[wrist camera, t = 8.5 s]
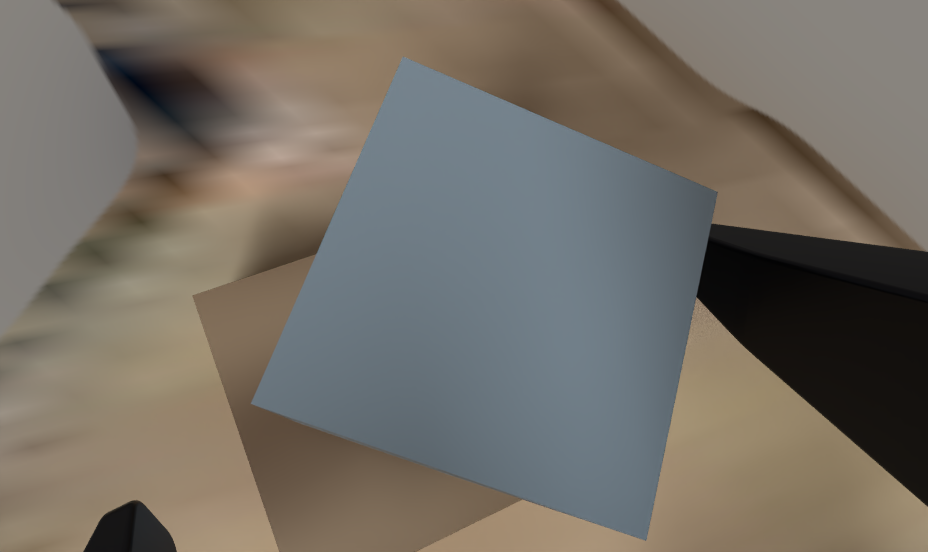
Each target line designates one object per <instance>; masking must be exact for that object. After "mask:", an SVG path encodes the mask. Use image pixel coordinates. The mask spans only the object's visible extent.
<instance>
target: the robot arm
mask: <svg viewBox="0 0 928 552" xmlns="http://www.w3.org/2000/svg"><path fill="white" fill-rule="evenodd" d="M696 297H697V298H698V299H699V300H700V301H701V302H702V303H703V304H704V305H705V306H706V308H707V309H708V310H709V311H710V312H711V313H712V314H713V315H714V316H715V317H716V318H717V319H718V320H719V321H720V322H721V323H722V325H723V326H724V327H725V328H726V329H727V330H728V331H729V332H730V333H731V334H732V335H733V336H734V337H735V338H736V339H737V340H738V341H739V342H740V343H741V344H742V345H743V346H744V347H745V348H746V349H747V350H748V351H749V352H751V353H752V354H753V355H754V356H755V357H756V358H757V359H758V360H760V361H761V362H762V363H763V364H764V365H765V366H767V367H768V368H769V369H770V370H771V371H772V372H773V373H775V374H776V375H777V376H778V377H779V378H780V379H781V380H783V381H784V382H785V383H786V384H787V385H788V386H790V387H791V388H792V389H793V390H794V391H795V392H796V393H798V394H799V395H800V396H801V397H802V398H803V399H804V400H806V401H807V402H808V403H809V404H810V405H811V406H813V407H814V408H815V409H816V410H817V411H818V412H819V413H821V414H822V415H823V416H824V417H825V418H826V419H827V420H829V421H830V422H831V423H832V424H833V425H834V426H836V427H837V428H838V429H839V430H840V431H841V432H842V433H844V434H845V435H846V436H847V437H848V438H849V439H850V440H852V441H853V442H854V443H855V444H856V445H857V446H859V447H860V448H861V449H862V450H863V451H864V452H865V453H867V454H868V455H869V456H870V457H871V458H872V459H874V460H875V461H876V462H877V463H878V464H879V465H880V466H882V467H883V468H884V469H885V470H886V471H887V472H888V473H890V474H891V475H892V476H893V477H894V478H895V479H897V480H898V481H899V482H900V483H901V484H902V485H903V486H905V487H906V488H907V489H908V490H909V491H910V492H911V493H913V494H914V495H915V496H916V497H917V498H918V499H920V500H921V501H922V502H923V503H924V504H925V505H926V506H928V252H925V251H917V250H909V249H902V248H894V247H886V246H879V245H871V244H863V243H856V242H848V241H840V240H833V239H825V238H817V237H810V236H802V235H794V234H787V233H779V232H771V231H764V230H756V229H749V228H741V227H733V226H726V225H718V224H711V227H710V232H709V237H708V242H707V247H706V252H705V256H704V261H703V266H702V271H701V276H700V281H699V286H698V291H697V295H696ZM83 552H177V551H176V547H175V544H174V541H173V539H172V537H171V535H170V533H169V532H168V531H167V529H166V528H165V527H164V526H163V525H162V524H161V523H160V522H159V520H158V519H157V518H156V517H155V516H154V515H153V514H152V513H151V512H150V510H149V509H148V508H147V507H146V506H145V505H144V504H143V503H142V502H140V501H138V500H134V501H130V502H128V503H126V504H124V505H122V506H120V507H118V508H116V509H114V510H112V511H110V512H108V513H106V514H105V515H104V516H103V517H102V518H101V520H100V521H99V523H98V525H97V527H96V529H95V531H94V533H93V534H92V536H91V538H90V540H89V542H88V544H87V546H86V548H85V550H84V551H83Z"/></svg>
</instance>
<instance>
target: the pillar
mask: <svg viewBox="0 0 928 552" xmlns="http://www.w3.org/2000/svg"><path fill="white" fill-rule="evenodd" d="M717 193H718V192H716V191H714V190H712V189H709V188H707V187H705V186H702V185H700V184H698V183H695V182H693V181H691V180H688V179H686V178H684V177H681V176H679V175H677V174H674V173H672V172H670V171H667V170H665V169H663V168H661V167H658V166H656V165H654V164H651V163H649V162H647V161H644V160H642V159H640V158H637V157H635V156H633V155H630V154H628V153H626V152H623V151H621V150H619V149H616V148H614V147H612V146H609V145H607V144H605V143H602V142H600V141H598V140H595V139H593V138H591V137H589V136H586V135H584V134H582V133H579V132H577V131H575V130H572V129H570V128H568V127H565V126H563V125H561V124H558V123H556V122H554V121H551V120H549V119H547V118H544V117H542V116H540V115H537V114H535V113H533V112H530V111H528V110H526V109H523V108H521V107H519V106H517V105H514V104H512V103H510V102H507V101H505V100H503V99H500V98H498V97H496V96H493V95H491V94H489V93H486V92H484V91H482V90H479V89H477V88H475V87H472V86H470V85H468V84H465V83H463V82H461V81H458V80H456V79H454V78H451V77H449V76H447V75H445V74H442V73H440V72H438V71H435V70H433V69H431V68H428V67H426V66H424V65H421V64H419V63H417V62H414V61H412V60H410V59H407V58H405V57H403V58H402V60H401V62H400V65H399V67H398V69H397V72H396V74H395V76H394V78H393V81H392V83H391V85H390V87H389V90H388V92H387V94H386V97H385V99H384V101H383V103H382V106H381V108H380V110H379V113H378V115H377V117H376V119H375V122H374V124H373V126H372V129H371V131H370V133H369V135H368V138H367V140H366V142H365V145H364V147H363V149H362V151H361V154H360V156H359V158H358V160H357V163H356V165H355V167H354V170H353V172H352V174H351V176H350V179H349V181H348V183H347V186H346V188H345V190H344V192H343V195H342V197H341V199H340V202H339V204H338V206H337V208H336V211H335V213H334V215H333V217H332V220H331V222H330V224H329V227H328V229H327V231H326V233H325V236H324V238H323V240H322V243H321V245H320V247H319V249H318V252H317V254H316V256H315V259H314V261H313V263H312V265H311V268H310V270H309V272H308V274H307V277H306V279H305V281H304V284H303V286H302V288H301V290H300V293H299V295H298V297H297V300H296V302H295V304H294V306H293V309H292V311H291V313H290V316H289V318H288V320H287V322H286V325H285V327H284V329H283V331H282V334H281V336H280V338H279V341H278V343H277V345H276V347H275V350H274V352H273V354H272V357H271V359H270V361H269V363H268V366H267V368H266V370H265V373H264V375H263V377H262V379H261V382H260V384H259V386H258V388H257V391H256V393H255V395H254V398H253V400H252V402H251V404H253V405H255V406H258V407H260V408H263V409H265V410H268V411H270V412H273V413H275V414H278V415H280V416H283V417H285V418H288V419H290V420H293V421H295V422H298V423H301V424H303V425H306V426H309V427H312V428H315V429H318V430H321V431H324V432H327V433H329V434H332V435H335V436H338V437H341V438H344V439H347V440H350V441H353V442H356V443H358V444H361V445H364V446H367V447H370V448H373V449H376V450H379V451H382V452H384V453H387V454H390V455H393V456H396V457H399V458H402V459H405V460H408V461H410V462H413V463H416V464H419V465H422V466H425V467H428V468H431V469H434V470H437V471H439V472H442V473H445V474H448V475H451V476H454V477H457V478H460V479H463V480H466V481H469V482H472V483H475V484H478V485H481V486H484V487H487V488H490V489H493V490H496V491H499V492H502V493H505V494H508V495H511V496H514V497H517V498H520V499H523V500H526V501H529V502H532V503H535V504H538V505H541V506H544V507H547V508H550V509H553V510H556V511H559V512H562V513H565V514H568V515H571V516H574V517H577V518H580V519H583V520H586V521H589V522H592V523H595V524H598V525H601V526H604V527H607V528H610V529H613V530H616V531H619V532H622V533H625V534H628V535H631V536H634V537H637V538H640V539H643V540H646V539H647V534H648V529H649V525H650V520H651V515H652V510H653V505H654V500H655V495H656V490H657V486H658V481H659V476H660V471H661V466H662V461H663V456H664V451H665V447H666V442H667V437H668V432H669V427H670V422H671V417H672V412H673V408H674V403H675V398H676V393H677V388H678V383H679V378H680V373H681V369H682V364H683V359H684V354H685V349H686V344H687V339H688V334H689V330H690V325H691V320H692V315H693V310H694V305H695V300H696V295H697V291H698V286H699V281H700V276H701V271H702V266H703V261H704V256H705V252H706V247H707V242H708V237H709V232H710V227H711V222H712V217H713V213H714V208H715V203H716V198H717Z"/></svg>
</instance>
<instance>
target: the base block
mask: <svg viewBox="0 0 928 552" xmlns="http://www.w3.org/2000/svg"><path fill="white" fill-rule="evenodd" d="M315 256H316V254H315V255H312V256H309V257H306V258H303V259H300V260H297V261H294V262H291V263H288V264H285V265H282V266H279V267H276V268H273V269H270V270H267V271H264V272H261V273H258V274H255V275H252V276H249V277H246V278H243V279H240V280H237V281H234V282H231V283H228V284H225V285H222V286H219V287H216V288H214V289H211V290H208V291H205V292H202V293H199V294H196V295H193V299H194V302H195V305H196V308H197V311H198V314H199V316H200V319H201V322H202V325H203V328H204V331H205V334H206V337H207V340H208V343H209V346H210V349H211V352H212V355H213V358H214V361H215V364H216V366H217V369H218V372H219V375H220V378H221V381H222V384H223V387H224V390H225V393H226V396H227V399H228V402H229V405H230V408H231V411H232V414H233V417H234V419H235V422H236V425H237V428H238V431H239V434H240V437H241V440H242V443H243V446H244V449H245V452H246V455H247V458H248V461H249V464H250V467H251V469H252V472H253V475H254V478H255V481H256V484H257V487H258V490H259V493H260V496H261V499H262V502H263V505H264V508H265V511H266V514H267V517H268V520H269V522H270V525H271V528H272V531H273V534H274V537H275V540H276V543H277V546H278V549H279V552H416V551H418V550H420V549H422V548H424V547H426V546H428V545H430V544H432V543H434V542H436V541H438V540H440V539H442V538H444V537H447V536H449V535H451V534H453V533H455V532H457V531H459V530H461V529H463V528H465V527H467V526H469V525H471V524H473V523H475V522H477V521H479V520H481V519H483V518H485V517H487V516H489V515H491V514H494V513H496V512H498V511H500V510H502V509H504V508H506V507H508V506H510V505H512V504H514V503H516V502H518V501H520V500H522V499H520V498H517V497H514V496H511V495H508V494H505V493H502V492H499V491H496V490H493V489H490V488H487V487H484V486H481V485H478V484H475V483H472V482H469V481H466V480H463V479H460V478H457V477H454V476H451V475H448V474H445V473H442V472H439V471H437V470H434V469H431V468H428V467H425V466H422V465H419V464H416V463H413V462H410V461H408V460H405V459H402V458H399V457H396V456H393V455H390V454H387V453H384V452H382V451H379V450H376V449H373V448H370V447H367V446H364V445H361V444H358V443H356V442H353V441H350V440H347V439H344V438H341V437H338V436H335V435H332V434H329V433H327V432H324V431H321V430H318V429H315V428H312V427H309V426H306V425H303V424H301V423H298V422H295V421H293V420H290V419H288V418H285V417H283V416H280V415H278V414H275V413H273V412H270V411H268V410H265V409H263V408H260V407H258V406H255V405H253V404H251V402H252V400H253V398H254V395H255V393H256V391H257V388H258V386H259V384H260V382H261V379H262V377H263V375H264V373H265V370H266V368H267V366H268V363H269V361H270V359H271V357H272V354H273V352H274V350H275V347H276V345H277V343H278V341H279V338H280V336H281V334H282V331H283V329H284V327H285V325H286V322H287V320H288V318H289V316H290V313H291V311H292V309H293V306H294V304H295V302H296V300H297V297H298V295H299V293H300V290H301V288H302V286H303V284H304V281H305V279H306V277H307V274H308V272H309V270H310V268H311V265H312V263H313V261H314V259H315Z"/></svg>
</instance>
